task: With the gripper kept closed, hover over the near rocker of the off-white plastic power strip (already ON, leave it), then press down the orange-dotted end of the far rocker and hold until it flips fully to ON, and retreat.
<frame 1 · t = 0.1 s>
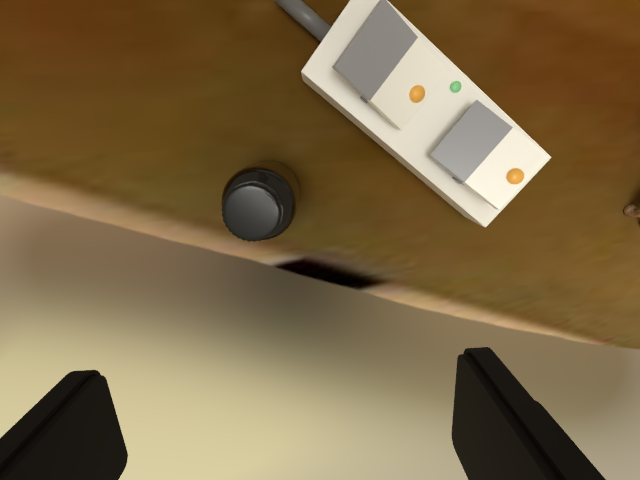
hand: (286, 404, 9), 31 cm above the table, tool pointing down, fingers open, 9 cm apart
rocker 1: (389, 69, 28), point 7 cm above the table, hinge at -14.0°
supplement bottle: (270, 190, 39), on the table
rocker 2: (485, 156, 31), point 7 cm above the table, hinge at 14.0°
strip: (415, 119, 36), on the table
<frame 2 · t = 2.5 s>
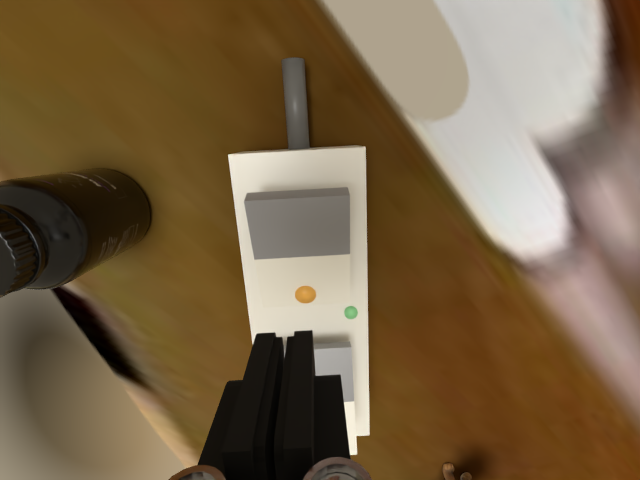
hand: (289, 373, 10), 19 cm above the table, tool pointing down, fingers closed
rocker 1: (302, 249, 22), point 7 cm above the table, hinge at -14.0°
supplement bottle: (112, 208, 28), on the table
lion figurine: (433, 479, 38), on the table
rocker 2: (313, 397, 25), point 7 cm above the table, hinge at 14.0°
strip: (309, 286, 30), on the table
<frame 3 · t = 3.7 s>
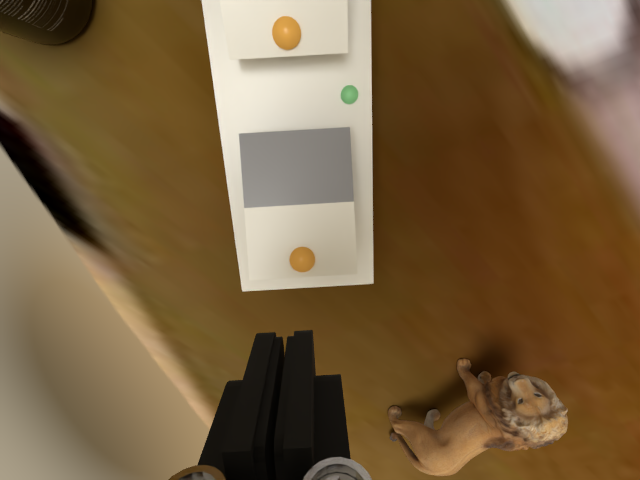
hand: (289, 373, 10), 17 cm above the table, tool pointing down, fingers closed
lion figurine: (445, 381, 32), on the table
rocker 2: (299, 205, 19), point 7 cm above the table, hinge at 14.0°
strip: (297, 105, 24), on the table
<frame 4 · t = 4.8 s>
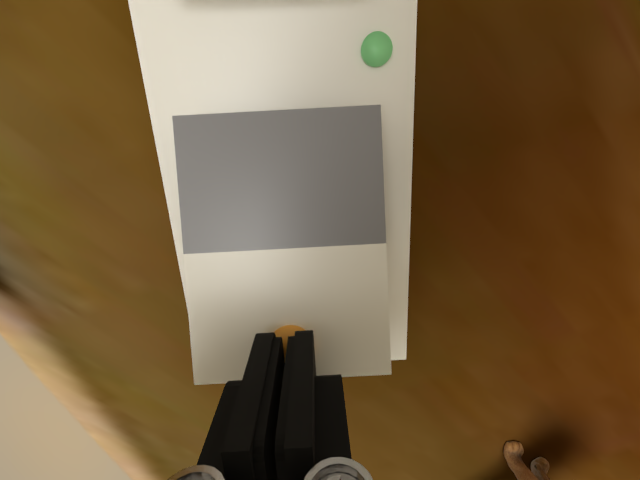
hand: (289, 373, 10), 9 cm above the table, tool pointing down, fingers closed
lion figurine: (485, 468, 24), on the table
rocker 2: (287, 246, 11), point 7 cm above the table, hinge at 13.6°, touching gripper
strip: (289, 79, 16), on the table
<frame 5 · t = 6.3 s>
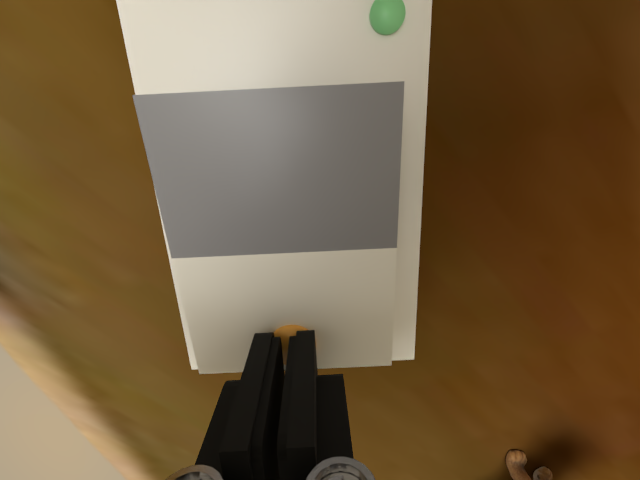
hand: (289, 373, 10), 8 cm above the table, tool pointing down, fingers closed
lion figurine: (486, 476, 23), on the table
rocker 2: (286, 241, 10), point 7 cm above the table, hinge at -4.1°, touching gripper
strip: (289, 56, 14), on the table
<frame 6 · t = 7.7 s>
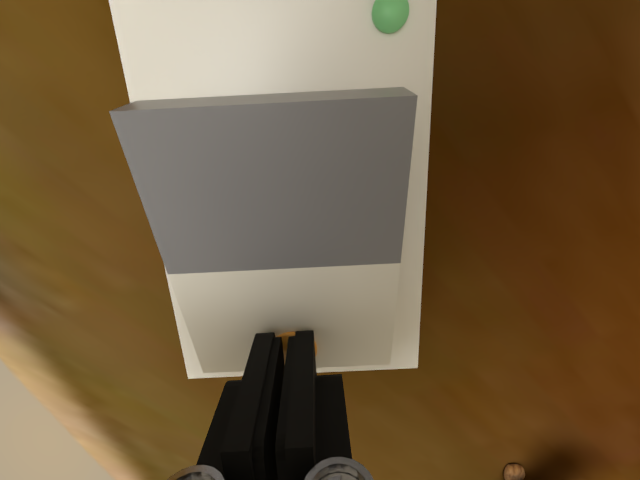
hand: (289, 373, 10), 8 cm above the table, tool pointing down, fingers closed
rocker 2: (286, 250, 9), point 7 cm above the table, hinge at -13.7°, touching gripper
strip: (288, 56, 14), on the table
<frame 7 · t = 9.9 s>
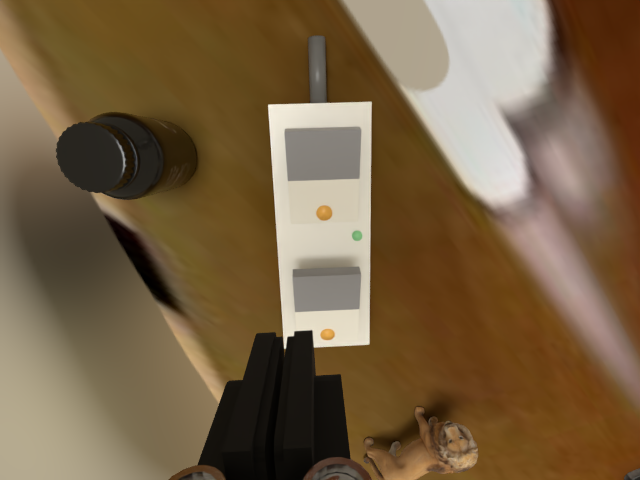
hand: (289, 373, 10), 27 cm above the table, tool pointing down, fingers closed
rocker 1: (323, 176, 29), point 7 cm above the table, hinge at -14.0°
supplement bottle: (165, 155, 35), on the table
lion figurine: (406, 421, 45), on the table
rocker 2: (326, 304, 32), point 7 cm above the table, hinge at -14.8°
strip: (321, 225, 37), on the table
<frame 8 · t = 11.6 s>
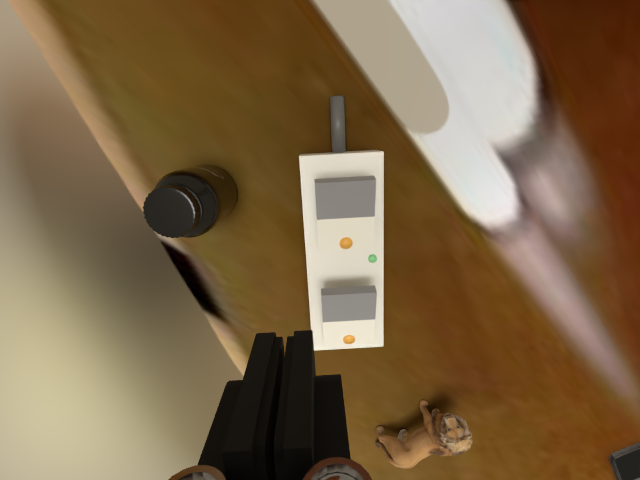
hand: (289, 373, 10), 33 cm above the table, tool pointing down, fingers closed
rocker 1: (345, 214, 35), point 7 cm above the table, hinge at -14.0°
supplement bottle: (210, 192, 42), on the table
lion figurine: (412, 412, 52), on the table
rocker 2: (348, 315, 39), point 7 cm above the table, hinge at -14.9°
strip: (341, 246, 44), on the table
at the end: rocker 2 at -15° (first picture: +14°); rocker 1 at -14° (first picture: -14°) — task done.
